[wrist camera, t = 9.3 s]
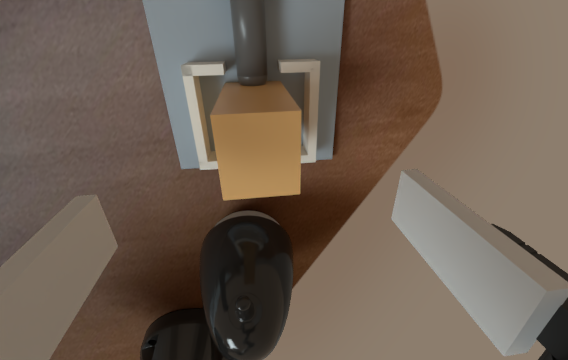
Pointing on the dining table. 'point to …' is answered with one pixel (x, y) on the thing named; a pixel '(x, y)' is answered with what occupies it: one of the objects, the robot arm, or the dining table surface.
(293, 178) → the plug
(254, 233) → the dark grey egg shape
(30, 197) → the dining table surface
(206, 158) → the board
